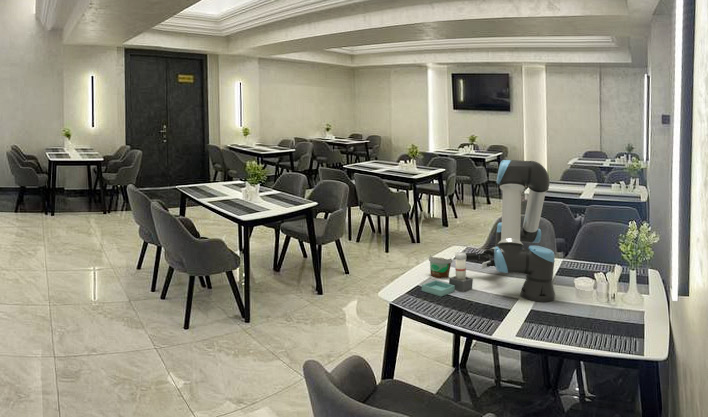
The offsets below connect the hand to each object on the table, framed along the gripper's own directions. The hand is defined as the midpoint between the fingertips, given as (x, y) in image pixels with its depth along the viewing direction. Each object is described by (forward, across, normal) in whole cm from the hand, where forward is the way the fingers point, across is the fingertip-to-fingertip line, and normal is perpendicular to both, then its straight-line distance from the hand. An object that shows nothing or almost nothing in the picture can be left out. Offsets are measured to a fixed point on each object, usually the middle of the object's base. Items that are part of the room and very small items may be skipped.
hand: (470, 263), depth 284 cm
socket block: (+8, 0, -11) cm, 14 cm away
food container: (+1, +18, -11) cm, 21 cm away
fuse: (+8, 0, -9) cm, 12 cm away
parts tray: (+20, +4, -11) cm, 23 cm away
